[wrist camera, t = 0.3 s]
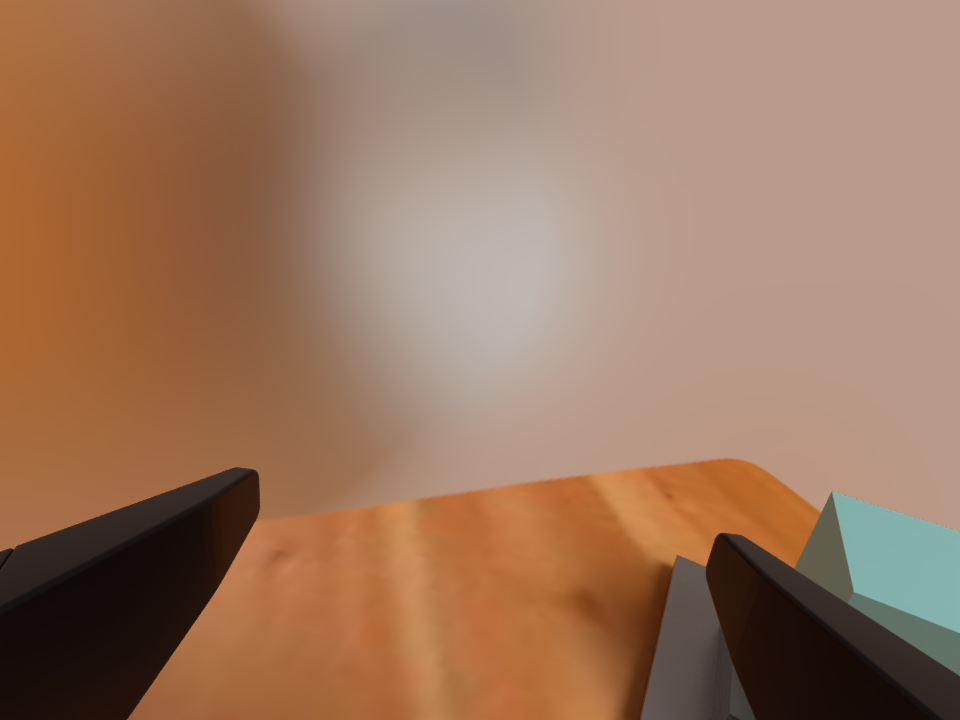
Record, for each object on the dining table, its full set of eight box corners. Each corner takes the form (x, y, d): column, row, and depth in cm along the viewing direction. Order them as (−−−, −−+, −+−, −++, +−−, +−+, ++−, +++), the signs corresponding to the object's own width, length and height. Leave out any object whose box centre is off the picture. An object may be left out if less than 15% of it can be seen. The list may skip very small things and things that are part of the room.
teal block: (931, 868, 16) (1117, 694, 12) (752, 767, 18) (854, 591, 14) (894, 716, 20) (1019, 550, 16) (754, 650, 23) (831, 491, 18)
